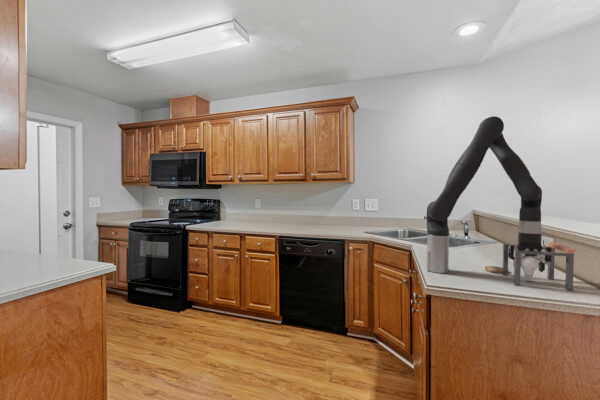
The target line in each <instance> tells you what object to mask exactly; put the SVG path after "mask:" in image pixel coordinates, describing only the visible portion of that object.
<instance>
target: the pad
mask: <svg viewBox="0 0 600 400" xmlns="http://www.w3.org/2000/svg"><path fill="white" fill-rule="evenodd" d="M502 269H503V266H502V267H501V266H495V265H494V266H493V265H488V266H485V268H484V270H485V271H486V272H489V273H493V274H498V275H503V274H502Z"/></svg>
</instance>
